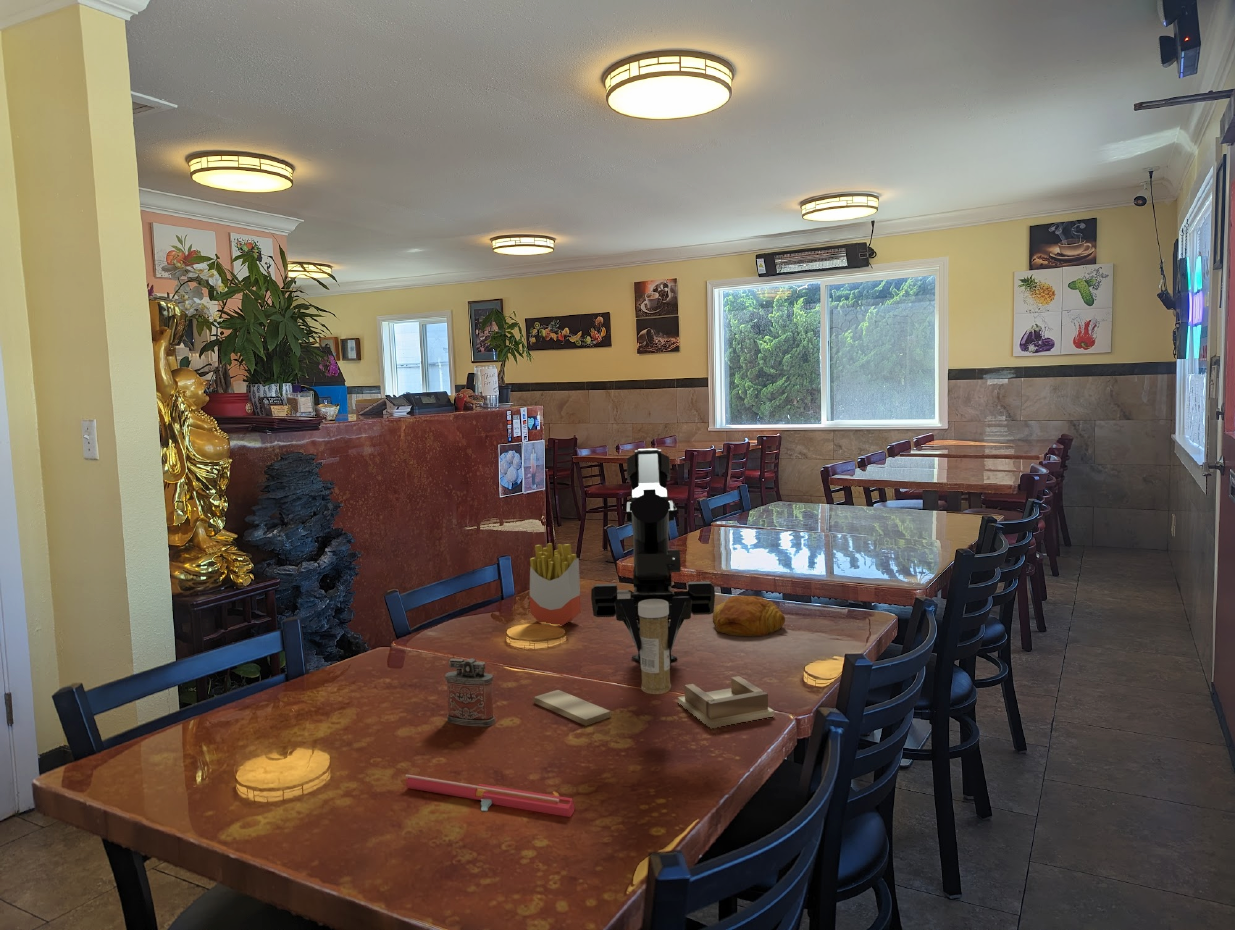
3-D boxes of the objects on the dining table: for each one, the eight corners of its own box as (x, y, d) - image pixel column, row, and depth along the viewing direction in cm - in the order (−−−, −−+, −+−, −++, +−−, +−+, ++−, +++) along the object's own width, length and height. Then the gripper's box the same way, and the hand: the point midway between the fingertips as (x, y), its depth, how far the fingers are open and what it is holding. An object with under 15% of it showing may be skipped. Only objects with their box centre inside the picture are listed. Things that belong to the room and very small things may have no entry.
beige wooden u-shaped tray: (677, 703, 137) (677, 682, 137) (737, 692, 141) (736, 672, 141) (711, 729, 126) (710, 706, 126) (774, 717, 130) (774, 695, 130)
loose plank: (534, 705, 140) (534, 696, 140) (558, 698, 143) (558, 689, 143) (585, 728, 129) (585, 719, 129) (610, 720, 133) (610, 711, 132)
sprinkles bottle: (677, 690, 124) (674, 601, 123) (652, 697, 122) (649, 607, 121) (658, 682, 128) (656, 596, 127) (634, 688, 126) (631, 601, 125)
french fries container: (571, 628, 185) (568, 547, 184) (529, 623, 190) (526, 545, 189) (581, 622, 189) (578, 544, 188) (540, 618, 194) (537, 542, 193)
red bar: (564, 832, 100) (579, 803, 104) (561, 819, 99) (576, 790, 103) (397, 803, 109) (417, 777, 113) (393, 790, 108) (413, 764, 112)
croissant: (731, 626, 191) (727, 591, 191) (794, 625, 181) (789, 589, 182) (699, 640, 179) (694, 603, 179) (764, 640, 170) (759, 601, 170)
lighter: (498, 719, 133) (495, 658, 132) (488, 727, 130) (485, 664, 129) (454, 714, 136) (451, 654, 135) (443, 722, 132) (440, 661, 132)
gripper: (589, 532, 127) (587, 624, 117) (712, 529, 127) (720, 620, 117) (594, 572, 136) (592, 660, 126) (709, 569, 135) (717, 657, 125)
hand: (654, 649), depth 123 cm, fingers closed on sprinkles bottle, 4 cm apart
